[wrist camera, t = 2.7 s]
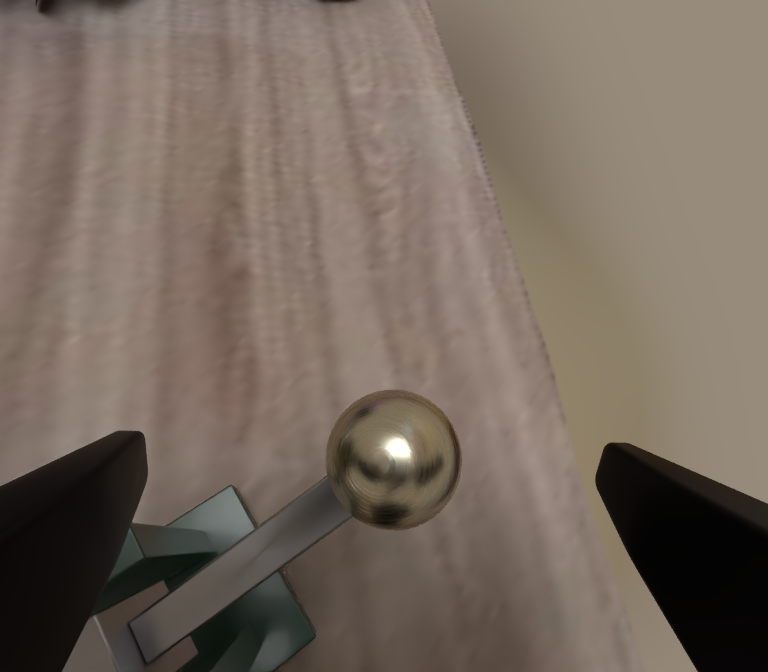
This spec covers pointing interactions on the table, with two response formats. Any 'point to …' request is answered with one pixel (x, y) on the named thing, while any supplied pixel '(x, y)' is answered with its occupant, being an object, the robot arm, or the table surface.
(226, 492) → the bracket
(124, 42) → the table surface
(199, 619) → the handle lever
